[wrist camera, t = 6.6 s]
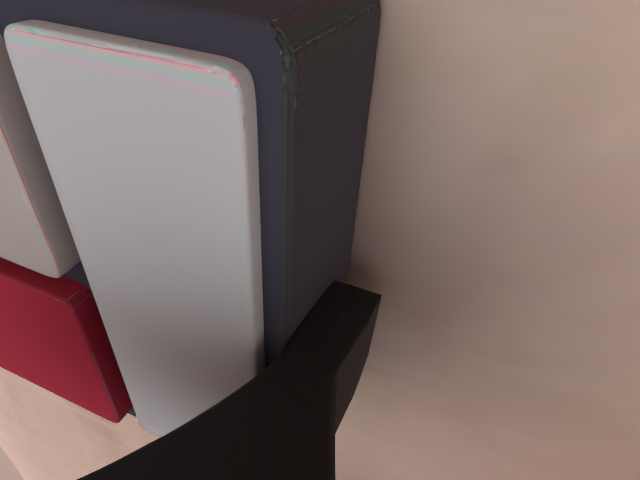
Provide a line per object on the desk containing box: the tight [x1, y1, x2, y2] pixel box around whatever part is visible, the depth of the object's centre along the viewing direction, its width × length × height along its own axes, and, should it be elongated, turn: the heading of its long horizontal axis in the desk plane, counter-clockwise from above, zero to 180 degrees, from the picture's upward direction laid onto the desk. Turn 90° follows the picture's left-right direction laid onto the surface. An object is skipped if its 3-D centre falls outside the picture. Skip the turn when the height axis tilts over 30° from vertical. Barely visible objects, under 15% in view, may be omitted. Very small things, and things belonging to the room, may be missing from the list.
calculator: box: [0, 0, 381, 437], centre depth 11 cm, size 11×4×15 cm
